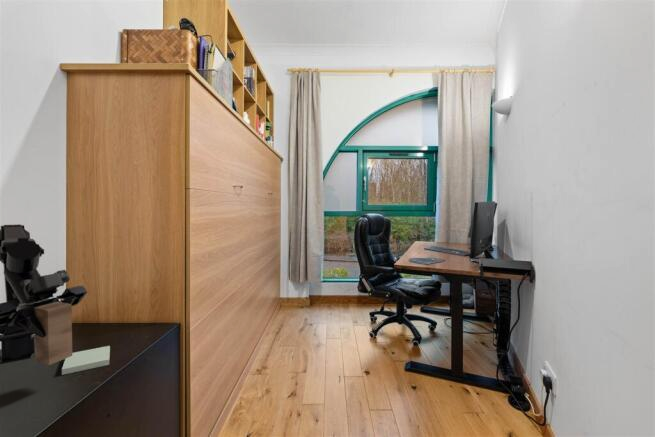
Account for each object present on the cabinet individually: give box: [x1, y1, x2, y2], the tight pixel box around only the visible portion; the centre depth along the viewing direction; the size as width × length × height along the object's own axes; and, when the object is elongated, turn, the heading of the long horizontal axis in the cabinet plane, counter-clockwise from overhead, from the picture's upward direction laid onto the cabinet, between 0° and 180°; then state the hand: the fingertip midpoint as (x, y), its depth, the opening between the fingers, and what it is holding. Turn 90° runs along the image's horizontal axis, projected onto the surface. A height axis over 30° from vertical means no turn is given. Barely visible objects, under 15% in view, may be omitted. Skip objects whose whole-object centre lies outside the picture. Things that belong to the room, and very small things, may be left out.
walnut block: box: [34, 302, 73, 366], centre depth 77 cm, size 5×5×13 cm
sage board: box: [61, 345, 111, 376], centre depth 88 cm, size 10×10×2 cm
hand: (57, 332), depth 76 cm, fingers closed on walnut block, 5 cm apart
